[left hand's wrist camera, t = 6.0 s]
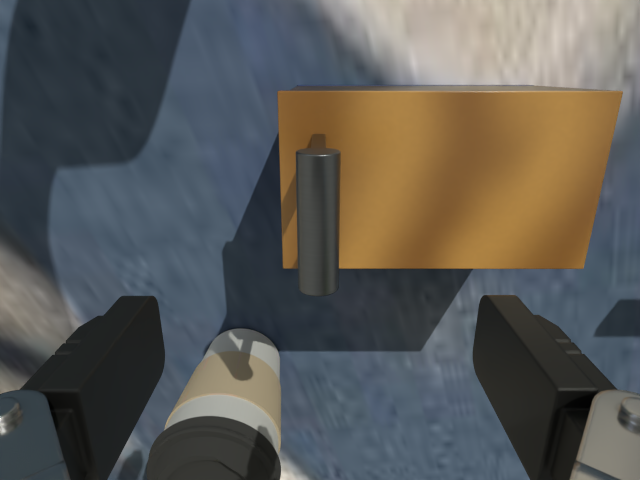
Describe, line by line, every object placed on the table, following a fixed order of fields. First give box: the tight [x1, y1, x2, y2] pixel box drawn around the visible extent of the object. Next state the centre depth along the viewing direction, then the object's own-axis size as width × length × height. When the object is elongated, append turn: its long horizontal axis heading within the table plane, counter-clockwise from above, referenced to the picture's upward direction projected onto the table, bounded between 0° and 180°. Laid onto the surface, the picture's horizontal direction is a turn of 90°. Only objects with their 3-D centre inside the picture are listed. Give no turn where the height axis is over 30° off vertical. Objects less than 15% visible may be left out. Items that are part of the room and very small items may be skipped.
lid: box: [277, 91, 623, 296], centre depth 22 cm, size 18×10×8 cm, turn 90°
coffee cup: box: [147, 328, 281, 480], centre depth 36 cm, size 9×9×15 cm
